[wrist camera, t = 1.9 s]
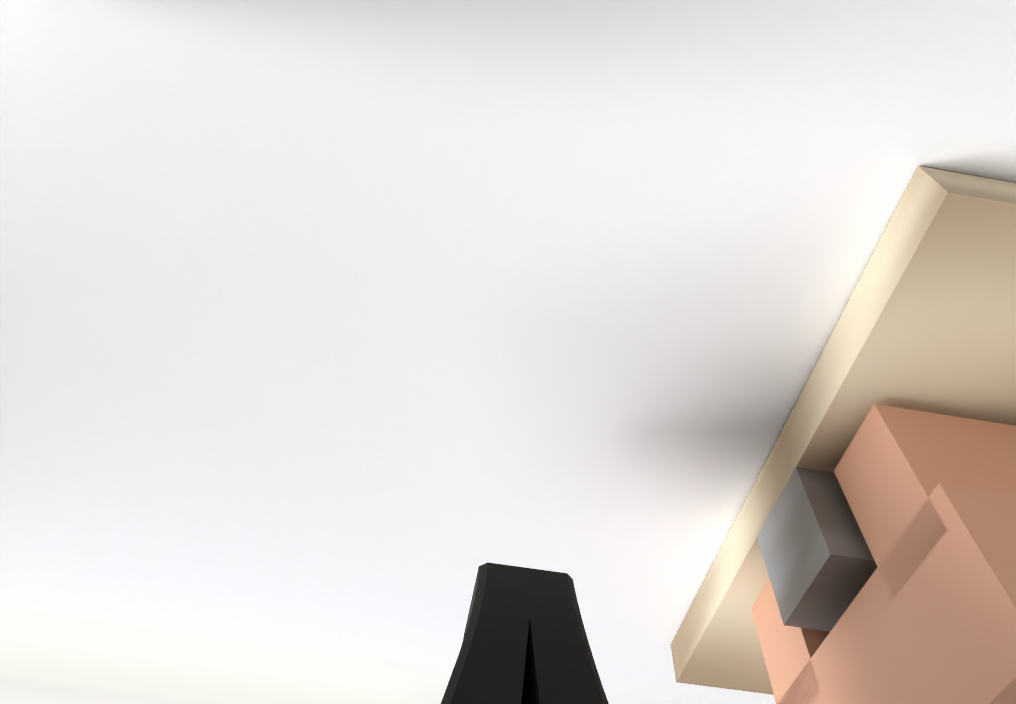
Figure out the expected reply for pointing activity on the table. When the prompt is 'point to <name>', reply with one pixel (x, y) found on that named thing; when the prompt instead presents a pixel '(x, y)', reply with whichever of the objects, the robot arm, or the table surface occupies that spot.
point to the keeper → (915, 572)
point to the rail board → (844, 406)
